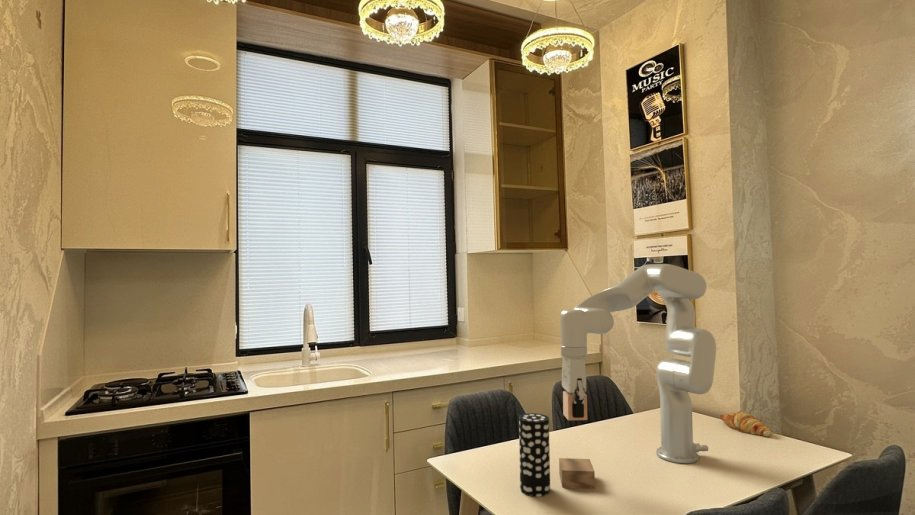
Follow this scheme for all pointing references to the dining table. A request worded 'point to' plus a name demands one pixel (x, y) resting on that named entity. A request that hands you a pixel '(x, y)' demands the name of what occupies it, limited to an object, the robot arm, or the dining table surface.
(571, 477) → the walnut block
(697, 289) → the robot arm
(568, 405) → the peach matte cube
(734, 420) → the croissant
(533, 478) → the white-spotted black cylinder
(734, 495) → the dining table surface
